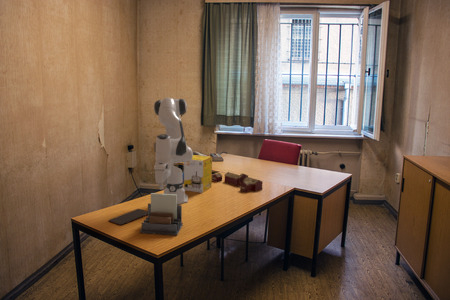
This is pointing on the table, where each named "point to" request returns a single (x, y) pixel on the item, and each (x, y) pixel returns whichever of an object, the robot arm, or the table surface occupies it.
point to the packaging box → (198, 174)
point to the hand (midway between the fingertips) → (163, 186)
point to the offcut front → (160, 220)
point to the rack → (163, 228)
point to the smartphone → (129, 217)
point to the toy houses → (239, 181)
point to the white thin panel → (164, 203)
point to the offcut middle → (163, 215)
